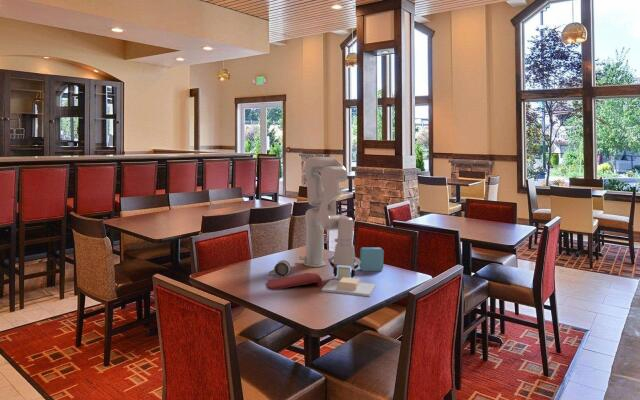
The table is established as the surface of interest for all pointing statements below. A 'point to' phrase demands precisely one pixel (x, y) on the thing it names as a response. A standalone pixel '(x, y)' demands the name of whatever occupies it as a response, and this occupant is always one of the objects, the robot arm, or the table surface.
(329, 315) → the table surface
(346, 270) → the cream block
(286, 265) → the ceramic mug
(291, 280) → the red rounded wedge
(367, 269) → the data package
